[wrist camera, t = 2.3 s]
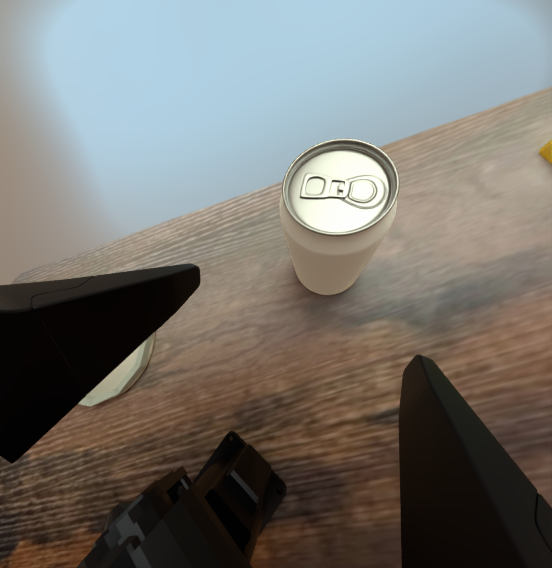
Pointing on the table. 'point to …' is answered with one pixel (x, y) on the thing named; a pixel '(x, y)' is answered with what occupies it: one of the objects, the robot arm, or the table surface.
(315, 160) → the can
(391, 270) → the table surface
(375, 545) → the table surface
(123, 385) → the saucer
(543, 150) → the dish sponge
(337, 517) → the table surface
